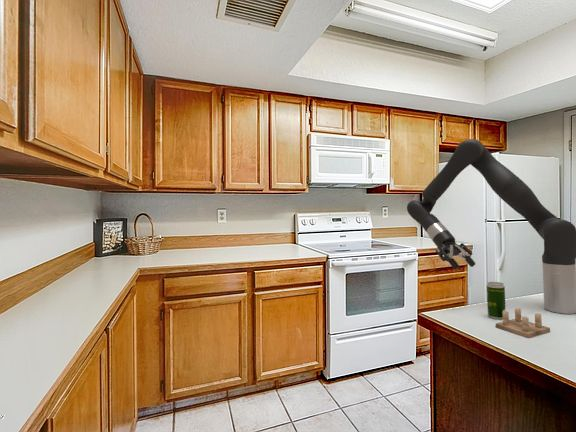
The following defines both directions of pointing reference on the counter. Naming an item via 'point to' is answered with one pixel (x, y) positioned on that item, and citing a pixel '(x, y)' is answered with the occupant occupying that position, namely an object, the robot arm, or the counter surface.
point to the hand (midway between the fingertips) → (465, 266)
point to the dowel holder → (522, 325)
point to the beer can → (496, 300)
